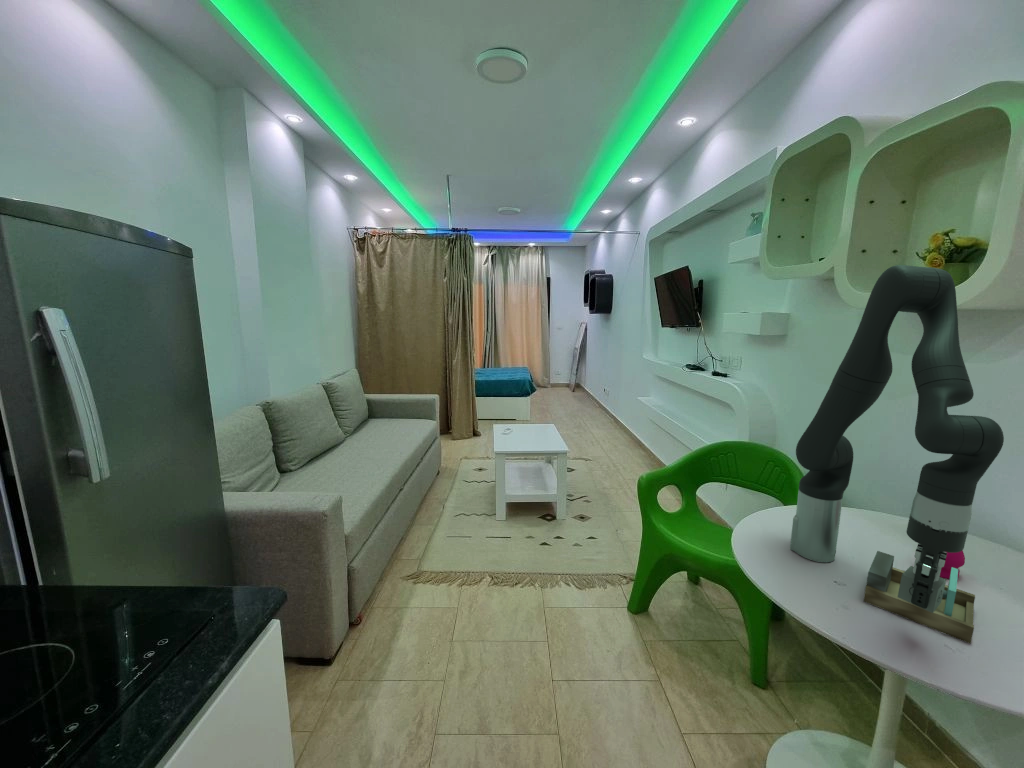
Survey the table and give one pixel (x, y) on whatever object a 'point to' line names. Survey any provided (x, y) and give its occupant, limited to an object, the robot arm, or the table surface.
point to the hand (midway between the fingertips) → (921, 597)
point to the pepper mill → (952, 563)
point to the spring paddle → (950, 592)
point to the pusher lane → (885, 596)
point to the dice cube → (908, 579)
